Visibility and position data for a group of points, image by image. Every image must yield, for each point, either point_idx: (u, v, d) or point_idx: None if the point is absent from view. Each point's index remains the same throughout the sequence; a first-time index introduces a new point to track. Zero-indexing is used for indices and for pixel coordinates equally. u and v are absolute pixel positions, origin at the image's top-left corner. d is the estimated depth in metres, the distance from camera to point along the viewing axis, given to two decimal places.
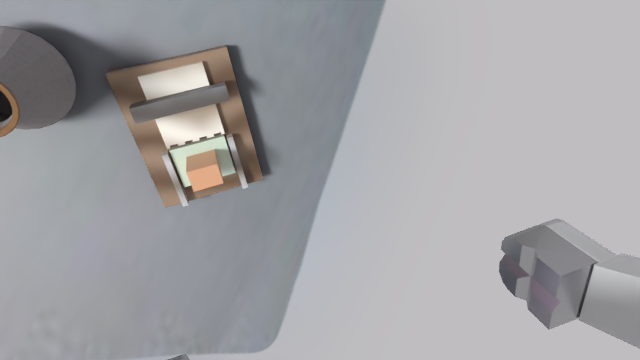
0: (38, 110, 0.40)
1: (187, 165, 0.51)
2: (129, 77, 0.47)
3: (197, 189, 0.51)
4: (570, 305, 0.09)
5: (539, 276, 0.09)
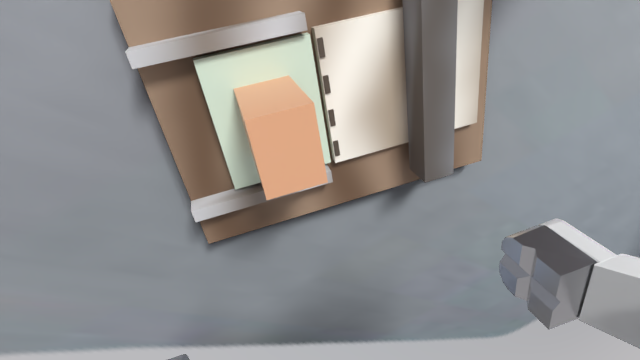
0: None
1: None
2: None
3: (252, 132, 0.16)
4: (570, 305, 0.09)
5: (540, 276, 0.09)
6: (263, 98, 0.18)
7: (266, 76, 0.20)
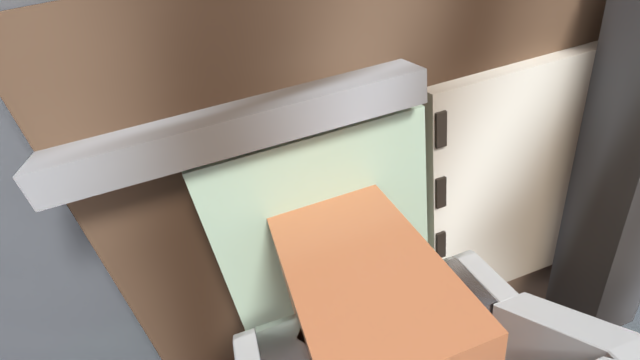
0: None
1: None
2: None
3: None
4: None
5: None
6: (347, 274, 0.08)
7: (333, 190, 0.10)
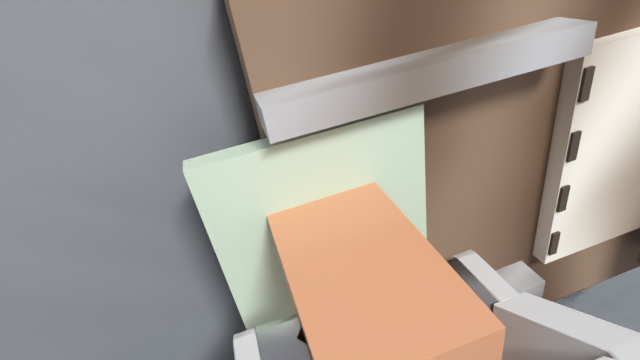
0: None
1: None
2: None
3: None
4: None
5: None
6: (347, 271, 0.08)
7: (332, 187, 0.10)
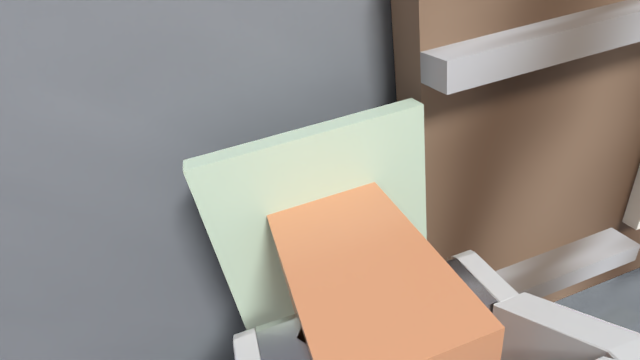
0: None
1: None
2: None
3: None
4: None
5: None
6: (346, 270, 0.08)
7: (332, 187, 0.10)
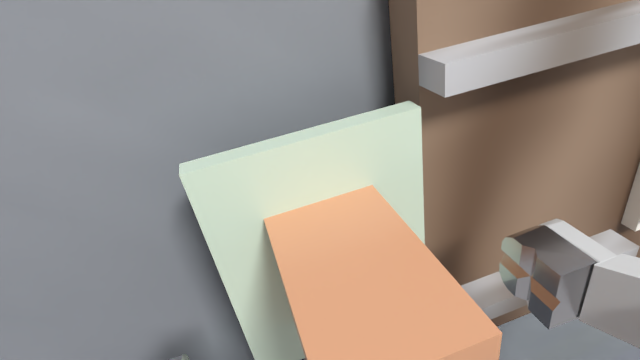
0: None
1: None
2: None
3: None
4: (570, 305, 0.09)
5: (539, 276, 0.09)
6: (343, 274, 0.08)
7: (329, 190, 0.10)
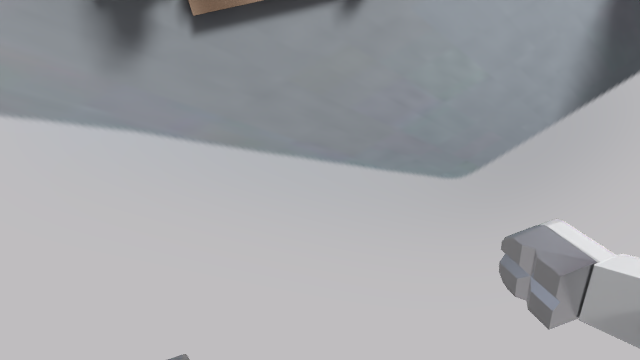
0: None
1: None
2: None
3: None
4: (570, 305, 0.09)
5: (539, 276, 0.09)
6: None
7: None
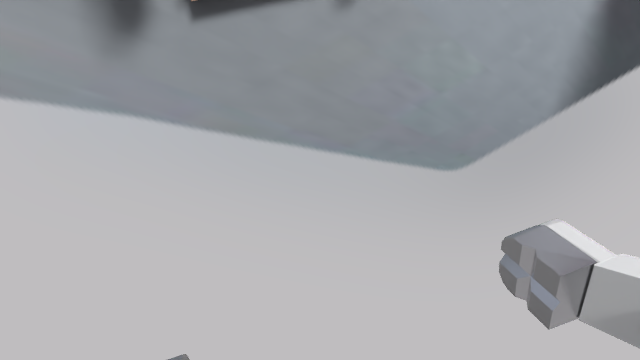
0: None
1: None
2: None
3: None
4: (570, 305, 0.09)
5: (539, 276, 0.09)
6: None
7: None
